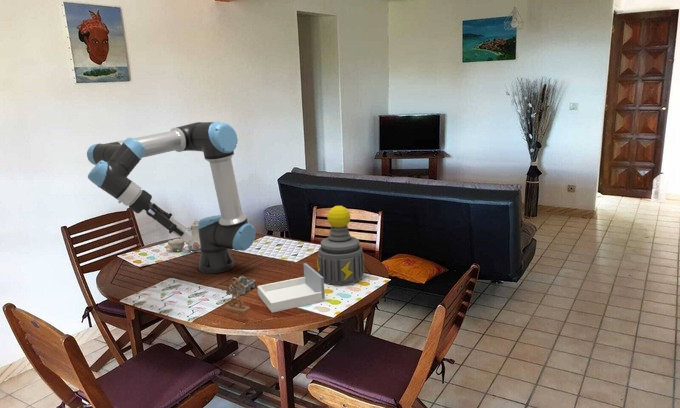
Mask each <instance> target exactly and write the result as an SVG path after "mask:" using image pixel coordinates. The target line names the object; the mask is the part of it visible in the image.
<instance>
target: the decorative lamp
mask: <svg viewBox="0 0 680 408" xmlns="http://www.w3.org/2000/svg"><path fill="white" fill-rule="evenodd" d="M327 221H328V223H329V225H330V226H331V227H330V231H329V235H328V237H326V238H323V239H322V240H320V246H319V248H318V252H317V261H316V266H317V273H319V274H320V275H321V276H322V277H324V284H327V285H332V286H347V285H348V286H349V285H353V284H355V283H358V282H360V281H361V280H362V279H363V277H364V273H365V266H364V265H365V264H364V263H365V256H364V251H363V247H362V246H361V244H360V240H359V238H357V237H355V236H352V235H351V234H350V230H349V226H348V225H349V223H350V221H351V213H350V211H349V210H348V209H347V208H346V207H344V206H343V205H335V206H333V207H331V208H330V209H329V210H328V213H327Z"/></svg>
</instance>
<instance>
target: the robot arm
mask: <svg viewBox="0 0 680 408" xmlns="http://www.w3.org/2000/svg"><path fill="white" fill-rule="evenodd" d="M237 145H238V135H237V132H236V130H235V129H234V127H233V126H232V125H230V124H229V123H226V122H221V121H206V122H205V121H204V122H203V121H201V122H200V121H197V122H193V123H188V124H184V125H180V126H176V127H172V128H170V130H169V131H165V132H159V133H153V134H149V135H144V136H139V137H127V138H126V139H122V140H117V141H113V142H108V143H95V144H92V145H90V146H89V147H88V149H87V150H86V157H87V160H88V161H89V163H90V164H92V165H94V167H93V168H92V169H91V170H90V172H89V173H88V174H87V178H88V179H87V180H89V181H90V182H92V183H93V184H94V185H95V186H96V187H98V188H99V189H101V190H102V191H104V192H105V193H107V194H108V195H110V196H111V197H113V198H115V199H116V200H117V202H118V204H121V203H122V204H123V205H124V206H125V207H127V206H128V208H129V210H131V211H133V212H134V213H136V214H140V213H141V212H143V211H145V213H146V215H147V216H148V217H151V218H152V219H153V220H154V221H156V222H157V223H159V224H160V225H161V226H162V227H164V228H165V229H167V231H168V233H169V234H170V235H171V234H174V235H176V236H177V238H179V239H183V240H184V241H186V242H187V243H188V242H189V241H190V240H191V239H192V238H193V236H192V235H191V233H189V231H187V229H186V228H188V227H187V226H186V225H185V224H183V223H182V222H180V221H179V220H178V219H176V218H174V216H173V214H172V213H171V212H166V211H165V210H164V209H162V208H161V207H160V206H158V205H157V203H153V202H151V201H152V198H153V196H152V194H150V193H149V192H148V191H147V190H145V189H142V187H141V186H139V185H138V184H137V183H136V182H134V181H133V180H131V179H130V178H128V177H129V175H130V174H131V172H133V170H134V169H135V167H136V166H137V165H138V164H139V163H140V162H141V160H142V159H143V158H146V157H151V156H156V155H161V154H166V153H169V152H174V151H175V152H177V153H181V152H188V151H189V152H190V151H191V152H201V153H203V156H204V160H205V161H207V162H209V166H210V170H211V175H212V180H213V185H214V189H215V193H216V197H217V202H218V207H219V208H218V209H219V211H220V214H218V215H211V216H207V217H204V218H201V219H200V220H198V221H199V222H198V227H199V228H198V230H199V238H200V246H201V253H200V257H199V259H198V260H199V262H198V265H197V266H198V271H199V272H201V273H203V274H219V273H224V272H227V271H229V270H231V269H233V268H234V265H235V263H234V259H233V257H232V255H231V252H230V250H234V251H241V252H242V251H246V250H248V249H250V248H251V247H252V246H253V243H254V241H255V239H256V228H255V226H254V225H253V224H251V223H249V222H248V217H247V215H246V214H245V213H243V210H242V205H241V199H240V196H239V190H238V185H237V180H236V175H235V171H234V165H233V162H232V161H233V160H232V158H233V156H234V155H235V150H236V148H237ZM185 229H186V230H185ZM229 249H230V250H229Z"/></svg>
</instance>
